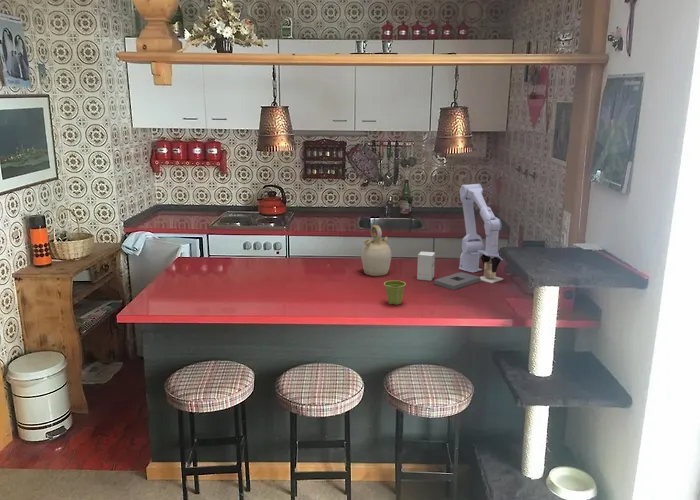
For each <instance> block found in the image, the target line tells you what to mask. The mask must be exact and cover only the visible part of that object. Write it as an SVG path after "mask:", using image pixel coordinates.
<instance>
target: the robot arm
mask: <svg viewBox="0 0 700 500" xmlns="http://www.w3.org/2000/svg"><path fill="white" fill-rule="evenodd" d="M458 191H459V198H460V202H461V203H462V211H463V218H464V227H465V233H466V235H465V236H464V237H463V238H462V239H461V250H462V252H461V254H460V257H459V267H458V270H462V271H465V272H469V273H471V274H473V273H476V272H481V271H482V270H483V268H480V267H479V266H480V260H481V262H482V265H483V266H484V263H485V262H488V261H491V262H492V272H493V273H494V272H496V273H497V269H498V266H499V265H500V263H501V261H504V260H503V259H502V258H501V257H500V256H499V253H500V252H498V247H499V232H500V231H501V230H502V227H503V226H502V221H501V219H500V218H498V217H496V216H495V214H494V212H493V211H492V207H490V206H487V204H486V201H485V198H484V195H483V193H484V189H483V187H482V185H481V183H473V184H462V185H461V186H460V188H459V190H458ZM474 203H476V206H477V207H478V208H479V210H480V211H479V215H480V217H481V219H482V220H483V222H484V224H483V227H484V231H485V232H484V233H485V250H484V242H483V240H482V236H480V235H479V234H478V233H477V227H476V226H477V225H476V217H475V216H476V215H475V210H474ZM480 255H481V256H480Z"/></svg>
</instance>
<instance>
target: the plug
mask: <svg viewBox="0 0 700 500" xmlns="http://www.w3.org/2000/svg"><path fill="white" fill-rule="evenodd" d="M496 273H497V271H496V272H494V273H493V272H492V261H491V260H490V261H488V262H485V263H484V265H483V276H484V277H488V278H493V277H497V275H496Z"/></svg>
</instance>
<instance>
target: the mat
mask: <svg viewBox="0 0 700 500" xmlns="http://www.w3.org/2000/svg"><path fill="white" fill-rule="evenodd" d="M480 277H481V280H480V281H481V282H485V283H489V284H494V283H496V282H497V283H498V282H500V281H503V280H504V278H503V277H499V276H496V277H493V278H488V277H484V275H482V276H480Z"/></svg>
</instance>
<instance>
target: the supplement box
mask: <svg viewBox="0 0 700 500" xmlns="http://www.w3.org/2000/svg"><path fill="white" fill-rule="evenodd" d="M435 258H436V253H435V252H434V251H420V252H418V254H417V268H416V269H417V272H416V273H417V274H416V279H417V280H419V281H429V282H431V281H432V280H433V278H434V277H435V263H436V262H435V261H436V259H435Z"/></svg>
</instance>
